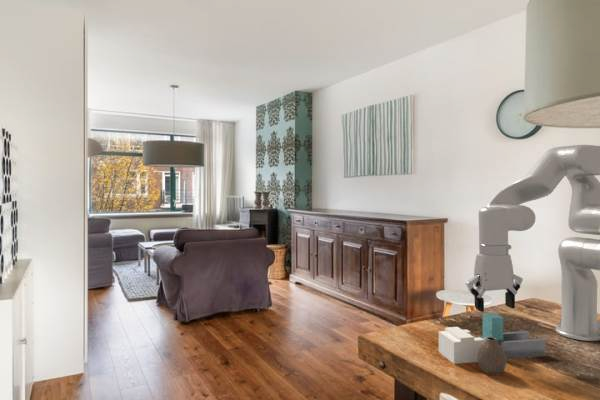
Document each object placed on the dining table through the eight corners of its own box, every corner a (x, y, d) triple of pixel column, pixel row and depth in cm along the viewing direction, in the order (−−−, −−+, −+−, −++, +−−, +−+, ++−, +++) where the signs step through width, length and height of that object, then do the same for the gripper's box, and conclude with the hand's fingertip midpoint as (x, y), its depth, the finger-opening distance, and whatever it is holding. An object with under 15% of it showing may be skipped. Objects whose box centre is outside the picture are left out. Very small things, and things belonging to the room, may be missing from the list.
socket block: (466, 349, 119) (466, 326, 119) (484, 361, 111) (484, 336, 111) (438, 351, 118) (438, 328, 118) (453, 363, 110) (454, 338, 109)
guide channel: (526, 345, 122) (526, 330, 122) (546, 355, 114) (546, 340, 114) (484, 348, 120) (484, 333, 120) (501, 359, 112) (501, 343, 112)
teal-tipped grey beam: (494, 346, 119) (494, 312, 118) (503, 352, 114) (504, 317, 114) (450, 349, 116) (450, 315, 116) (458, 355, 112) (458, 320, 112)
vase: (472, 366, 108) (472, 334, 108) (496, 365, 109) (497, 333, 108) (485, 378, 101) (485, 344, 101) (512, 377, 102) (512, 343, 101)
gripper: (511, 246, 120) (513, 302, 121) (458, 250, 118) (460, 307, 118) (530, 249, 113) (531, 309, 114) (473, 254, 110) (475, 315, 111)
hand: (494, 308), depth 116 cm, fingers open, 9 cm apart
